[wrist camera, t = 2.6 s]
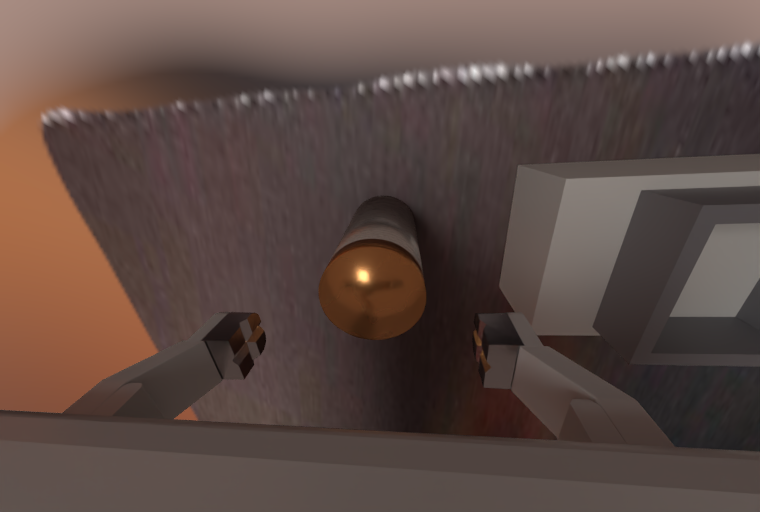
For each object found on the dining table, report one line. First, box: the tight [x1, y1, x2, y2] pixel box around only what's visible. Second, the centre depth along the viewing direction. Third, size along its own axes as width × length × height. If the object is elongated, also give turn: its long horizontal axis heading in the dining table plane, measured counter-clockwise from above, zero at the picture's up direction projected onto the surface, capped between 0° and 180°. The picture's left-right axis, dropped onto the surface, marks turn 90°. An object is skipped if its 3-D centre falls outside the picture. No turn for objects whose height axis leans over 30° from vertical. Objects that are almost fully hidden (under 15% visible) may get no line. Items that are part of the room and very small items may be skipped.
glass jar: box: [319, 196, 426, 340], centre depth 17 cm, size 5×5×10 cm
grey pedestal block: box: [499, 154, 760, 366], centre depth 16 cm, size 16×10×9 cm, turn 93°
